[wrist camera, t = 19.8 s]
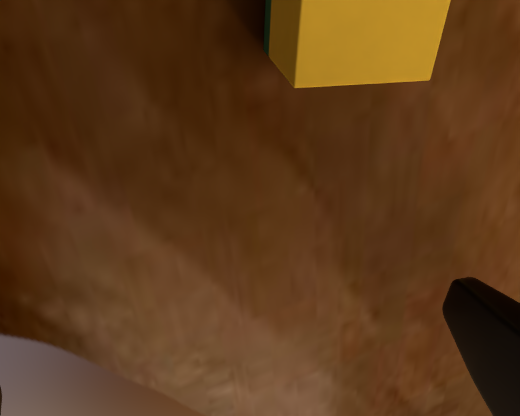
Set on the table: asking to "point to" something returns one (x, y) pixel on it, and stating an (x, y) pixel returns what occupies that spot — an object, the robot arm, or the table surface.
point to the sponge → (353, 40)
